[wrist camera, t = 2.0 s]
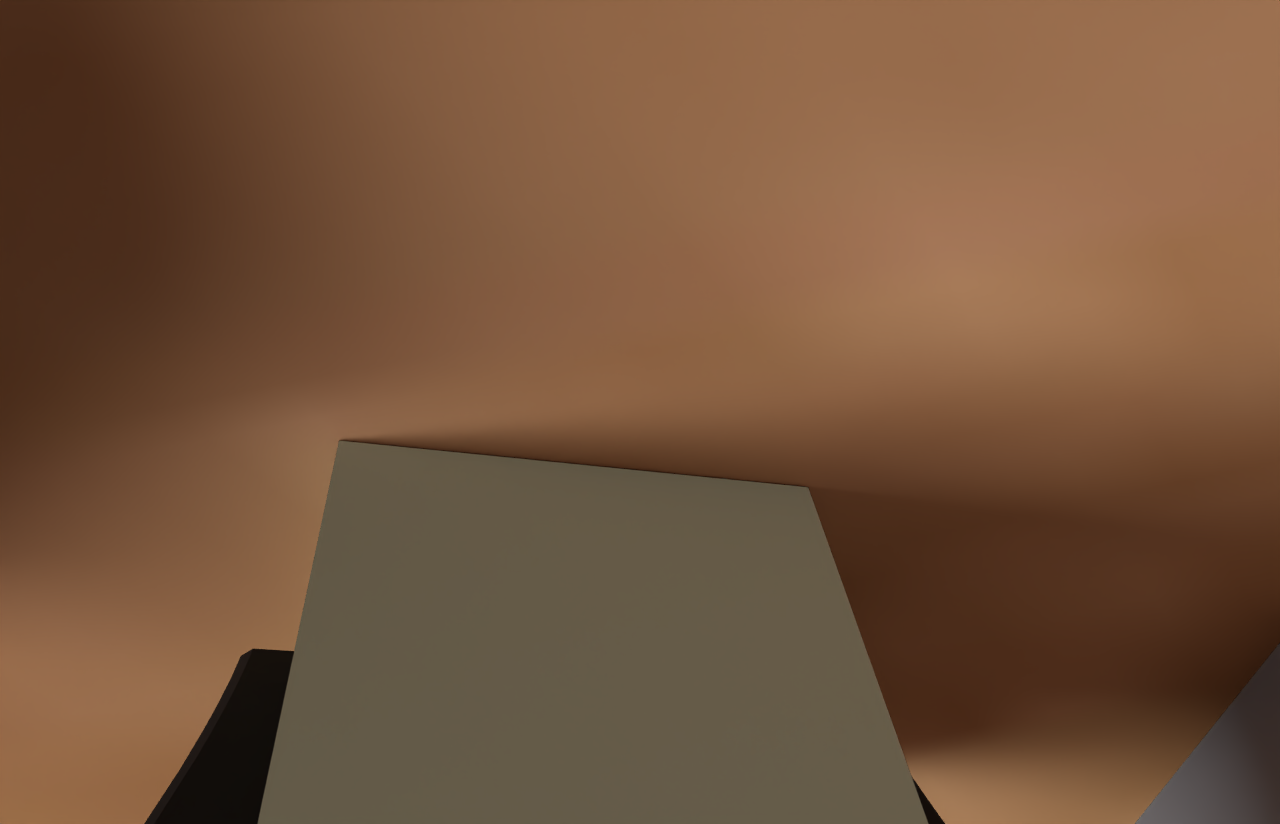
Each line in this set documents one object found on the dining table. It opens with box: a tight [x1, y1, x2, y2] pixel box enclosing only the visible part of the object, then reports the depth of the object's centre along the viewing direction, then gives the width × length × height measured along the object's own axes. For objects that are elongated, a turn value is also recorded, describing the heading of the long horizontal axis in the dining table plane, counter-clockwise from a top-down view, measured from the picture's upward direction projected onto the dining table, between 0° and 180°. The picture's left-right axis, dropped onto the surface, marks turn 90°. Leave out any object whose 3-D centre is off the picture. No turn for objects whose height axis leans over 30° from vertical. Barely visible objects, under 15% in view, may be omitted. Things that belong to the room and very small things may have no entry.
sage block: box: [258, 441, 928, 824], centre depth 11 cm, size 5×5×5 cm
